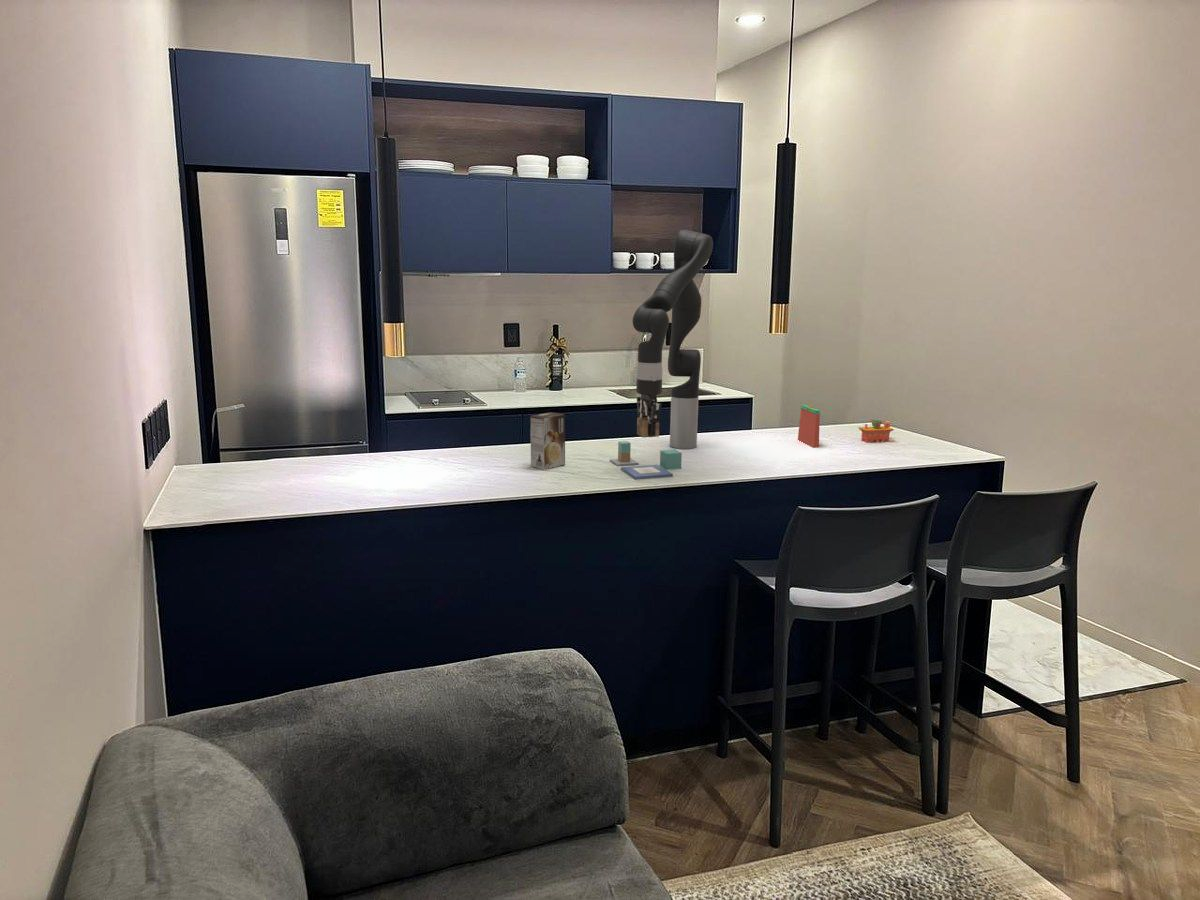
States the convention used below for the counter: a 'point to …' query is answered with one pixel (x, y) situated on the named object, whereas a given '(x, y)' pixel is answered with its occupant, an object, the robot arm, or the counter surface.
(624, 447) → the stacked block model
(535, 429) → the coffee box
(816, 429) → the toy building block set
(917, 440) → the counter surface
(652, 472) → the board
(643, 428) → the walnut cube
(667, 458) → the teal cube
